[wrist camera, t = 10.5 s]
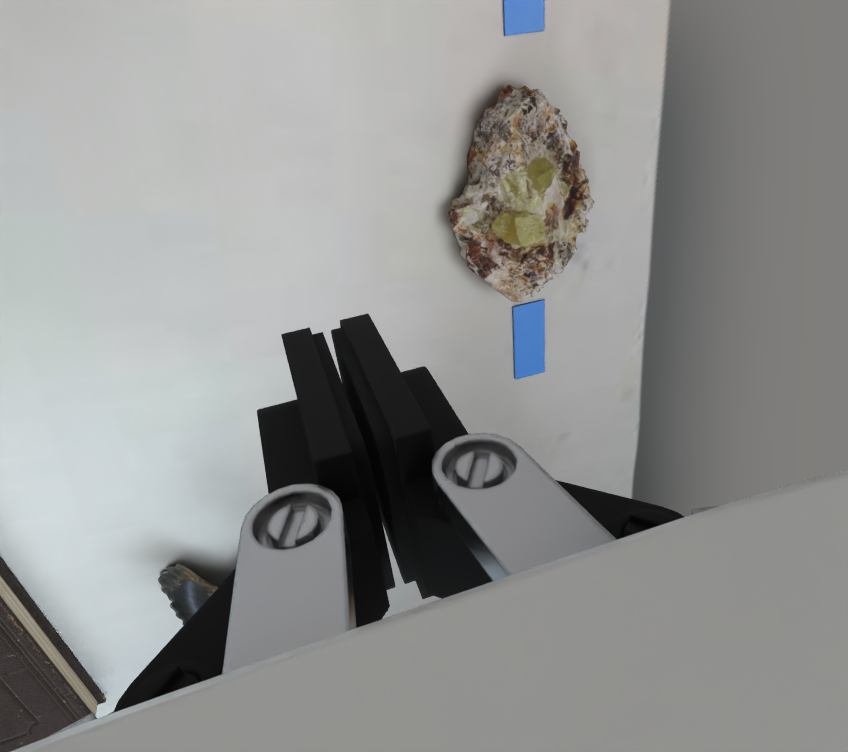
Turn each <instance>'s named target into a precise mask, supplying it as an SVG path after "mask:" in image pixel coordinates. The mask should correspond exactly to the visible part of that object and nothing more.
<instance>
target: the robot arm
mask: <svg viewBox="0 0 848 752" xmlns="http://www.w3.org/2000/svg"><path fill="white" fill-rule="evenodd" d="M340 326H341V328H338V329H334V330H331V333H332V339H333V343H334V348H335V352H336V357H337V362H338V366H339V371H340V375H341V379H340V377H339V374H338V371H337V369H336V366H335V364H334V361H333V358H332V356H331V353H330V350H329V348H328V345H327V342H326V340H325V337H324V335H323V332H321V333H317V334H313V335H312V333H311V330H310V328H306V329H302V330H297V331H293V332H289V333H285V334H281V335H282V339H283V343H284V347H285V351H286V355H287V359H288V363H289V367H290V371H291V375H292V379H293V383H294V387H295V391H296V395H297V400H293V401H289V402H286V403H282V404H278V405H274V406H270V407H266V408H263V409H259V410H257V415H258V422H259V429H260V436H261V443H262V450H263V457H264V464H265V471H266V478H267V485H268V492H269V494H268V495H266V496H264V497H263V498H262V499H261V500H259V501H258V502H257V503H256V504H255V505H253V507H252V508H251V509H250V511H249V512H248V513H247V515H246V516H245V518H244V521H243V524H242V527H241V533H240V541H239V548H238V556H237V564H236V569H235V570H234V571H233V572H232V573H231V574H230V575H229V576H228V578H227V579H226V580H225V581H224V582H223V583H222V584H221V585H220V586H219V587H218V589H217V590H216V591H215V592H214V593H213V594H212V595H211V596H210V597H209V598H208V600H207V601H206V602H205V603H204V604H203V605H202V606H201V607H200V608H199V610H198V611H197V612H196V613H195V614H194V615H193V616H192V617H191V618H190V619H189V621H188V622H187V623H186V624H185V625H184V626H183V627H182V628H181V629H180V630H179V632H178V633H177V634H176V635H175V636H174V637H173V638H172V639H171V640H170V641H169V643H168V644H167V645H166V646H165V647H164V648H163V649H162V650H161V651H160V652H159V654H158V655H157V656H156V657H155V658H154V659H153V660H152V661H151V662H150V663H149V665H148V666H147V667H146V668H145V669H144V670H143V671H142V672H141V673H140V674H139V676H138V677H137V678H136V679H135V680H134V681H133V682H132V683H131V685H130V686H129V687H128V689H127V690H126V691H125V693H124V694H123V695H122V697H121V698H120V699H119V701H118V703H117V705H116V708H115V710H114V712H112V713H110V714H108V715H106V716H103V717H101V718H98V719H97V718H96V716H95V715H94V713H91V714H89V715H87V716H86V717H84V718H82V719H80V720H78V721H76V722H75V723H73V724H71V725H69V726H67V727H65V728H63V729H62V730H60V731H58V732H56V733H54V734H52V735H51V736H49V737H47V738H44V739H42V740H39V741H37V742H34V743H31V744H29V745H26V746H24V747H21V748H19V749H16V750H13V751H11V752H848V471H843V472H838V473H834V474H829V475H824V476H819V477H815V478H811V479H807V480H804V481H801V482H797V483H794V484H791V485H787V486H783V487H780V488H776V489H773V490H769V491H766V492H763V493H759V494H756V495H753V496H749V497H745V498H742V499H739V500H736V501H733V502H730V503H727V504H724V505H721V506H715V507H707V508H699V509H692V513H691V515H690V516H687V517H684V516H682V515H681V514H679V513H677V512H675V511H672V510H670V509H667V508H664V507H661V506H657V505H653V504H649V503H645V502H641V501H637V500H633V499H629V498H625V497H621V496H617V495H613V494H609V493H605V492H601V491H597V490H593V489H589V488H585V487H581V486H577V485H573V484H569V483H565V482H561V481H557V480H554V479H553V478H552V477H551V476H550V475H549V474H548V473H547V472H546V471H545V470H544V469H543V468H542V467H541V466H540V465H539V464H538V463H537V462H536V461H535V460H534V459H533V458H531V457H530V456H529V455H528V454H527V453H526V452H525V451H524V450H523V449H522V448H521V447H520V446H519V445H517V444H516V443H515V442H513V441H512V440H510V439H508V438H505V437H502V436H500V435H496V434H488V433H476V434H468V432H467V431H466V429H465V428H464V426H463V425H462V423H461V421H460V420H459V418H458V417H457V415H456V413H455V412H454V410H453V409H452V407H451V406H450V404H449V402H448V401H447V399H446V398H445V396H444V394H443V393H442V391H441V390H440V388H439V387H438V385H437V383H436V382H435V380H434V379H433V377H432V375H431V374H430V372H429V371H428V369H427V368H426V367H420V368H416V369H412V370H408V371H404V372H400V370H399V368H398V367H397V365H396V363H395V361H394V359H393V358H392V356H391V354H390V352H389V350H388V349H387V347H386V345H385V343H384V341H383V339H382V338H381V336H380V334H379V332H378V330H377V329H376V327H375V325H374V323H373V321H372V320H371V318H370V316H369V314H364V315H360V316H356V317H352V318H348V319H343V320H340ZM341 380H342V382H341ZM342 384H343V385H342ZM382 522H383V524H382ZM383 525H384V528H385V531H386V534H387V536H388V539H389V542H390V545H391V548H392V550H393V553H394V556H395V559H396V562H397V564H398V567H399V570H400V573H401V576H402V578H403V581H404V583H405V584H406V583H409V582H412V581H415V580H416V583H417V585H418V588H419V591H420V593H421V596H422V599H425V598H428V597H431V596H436V597H439V598H442V599H440V600H437V601H434V602H431V603H428V604H425V605H422V606H419V607H417V608H414V609H411V610H408V611H405V612H402V613H399V614H396V615H393V616H390V617H387V618H384V619H382V618H383V616H384V615H385V613H386V611H388V608H389V607H390V605H389V600H388V596H387V591H386V590H388V589H391V588H394V587H395V582H394V577H393V572H392V568H391V563H390V558H389V553H388V548H387V543H386V539H385V534H384V529H383Z"/></svg>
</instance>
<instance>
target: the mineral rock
mask: <svg viewBox="0 0 848 752" xmlns="http://www.w3.org/2000/svg"><path fill="white" fill-rule="evenodd" d="M559 112H560V110H559V109H557V108H553V107H552V106H550V105H549V103H548V101H547V99H546V98H545V96H544V95H543V93H542V92H541V91H540V90H539V89H537V90H534V89H533V91H532V90H530V89H528V88H527V87H526V86H524V87H522V88H520V89H515V88H514V87H512V86H511V85H507V86H506V87H504V88H503V90H502V92H501V93H500V95H499V98H498V103H497V105H495V106H492V107H490V108H487V109H486V110H485V112H484V114H483V116H482V117H481V118H480V119H479V120H478V123H477V125H476V127H475V130H474V138H473V144H472V145H471V147H470V149H469V153H468V182H467V184H466V186H465V187H464V192H463V194H462V195H461V197H459V198H456V199H453V201H452V205H451V209H450V210H449V212H448V214H449V215H450V216H449V217H450V222H451V223H452V231H454V236H455V237H456V239H457V241H458V244H459V245H460V246H461V252H460V255H461V256H462V257H463V258H464V259H465V261H466V262H467V266H468V267H469V268H470V269H471V270H472V271H473V272H475V273H476V274H478V275H480V276H481V277H482V278H483V279H485V280H486V281H487V282H488V283H489V284H490V286H491V287H492V288H493V289H495V290H496V291H498V292H499V293H501V294H502V295H504V296H505V297H506V298H508V299H509V300H511V301H513V302H523V301H524V300H525V299H527V298H529V297H532V296H533V295H534V293H535V291H538V292H539V291H540V288H543V284H545V283H546V282H548V281H549V280H551V279H553V278H554V277H559V275H560V274H561V273H562V271H563V269H564V267H565V266H566V265H567V263H568V262H569V260H570V259H571V258H572V256H573V254H575V250H576V249H577V248H576V246H575V245H576V236H577V234H578V233H580V232H583V233H585V232H586V230H587V227H588V223H589V221H588V220H587V219H586V217H585V214H586V213H588V212H589V210H590V209H591V208H592V206H593V204H594V201H593V199H592V198H591V197H590V190H589V186H588V185H587V184H588V182H589V180H588V178H587V176H586V175H585V171H584V169H581V165H580V164H579V157H580V152H579V151H578V150H576V149H577V145H576V143H575V142H574V141H573V140H572V139H571V138H570V137H569V135H568V133H567V121H566V120H565V119H564V118H563V117H562V115H560V114H559Z"/></svg>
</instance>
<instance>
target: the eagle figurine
mask: <svg viewBox="0 0 848 752" xmlns="http://www.w3.org/2000/svg"><path fill="white" fill-rule="evenodd" d="M160 575H161V578H160V579H159V583H160V584H161V585H162V586H163V587H162V591H163V592H164V593H165V594H167V596H168V598H169V600H171V601H172V603H171V604H170V606H171V608H172V609H173V610H174V611H175V612H176V616H177V617H178V618H179V619H181V620H183V625H185V624H186V623H187V622H188V621H189V619H190V618H191V617H192V616H193V615H194V614H195V613H196V612H197V611H198V610H199V608H200V607H201V606H202V605H203V604H204V603H205V602H206V601H207V600H208V598H209V597H210V596H211V595H212V594H213V593H214V592H215V591H216V590H217V589H218V587H217V586H215V585H213V584H211V583H209V582H206V581H204V580H203V579H202V578H201V577H199V576H198V575H197V574H195V573H194V572H192V571H191V570H190V569H189V568H187V567H186V566H184V565H182V564H180V563H177V564H176V566H170V567H168V571H163V572H162V573H161V574H160Z"/></svg>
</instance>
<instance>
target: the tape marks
mask: <svg viewBox="0 0 848 752" xmlns="http://www.w3.org/2000/svg"><path fill="white" fill-rule="evenodd" d="M504 31H505V36H508V35H515V34H522V33H530V32H537V31H544V0H504ZM513 331H514V364H515V379H519V378H523V377H527V376H530V375H534V374H538V373H542V372H545V364H544V300H540V301H536V302H531V303H527V304H523V305H518V306H514V307H513Z"/></svg>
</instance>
